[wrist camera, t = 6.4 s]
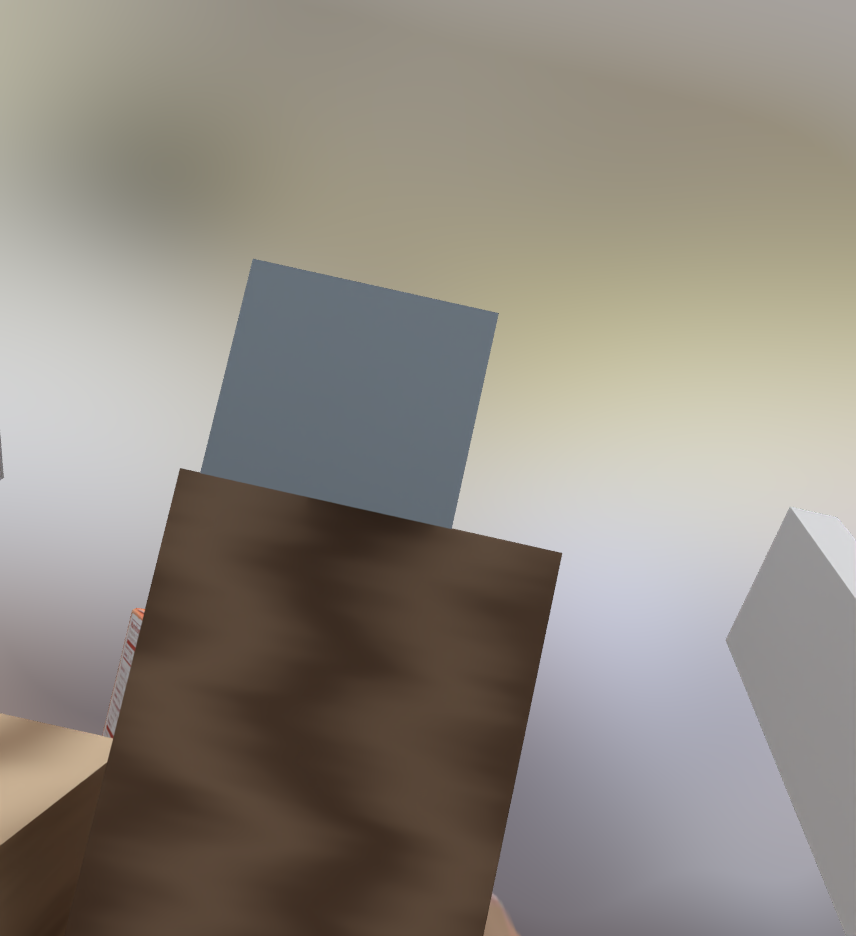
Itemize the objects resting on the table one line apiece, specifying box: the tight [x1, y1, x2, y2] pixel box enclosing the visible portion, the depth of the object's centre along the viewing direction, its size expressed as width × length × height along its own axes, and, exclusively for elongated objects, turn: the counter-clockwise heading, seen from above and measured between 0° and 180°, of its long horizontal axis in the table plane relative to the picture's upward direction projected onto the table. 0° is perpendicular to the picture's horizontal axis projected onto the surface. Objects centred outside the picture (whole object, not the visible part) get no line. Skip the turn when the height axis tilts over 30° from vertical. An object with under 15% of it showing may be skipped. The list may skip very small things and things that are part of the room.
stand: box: [64, 468, 562, 936], centre depth 27 cm, size 12×12×30 cm
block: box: [200, 259, 499, 529], centre depth 25 cm, size 4×28×4 cm, turn 1°
